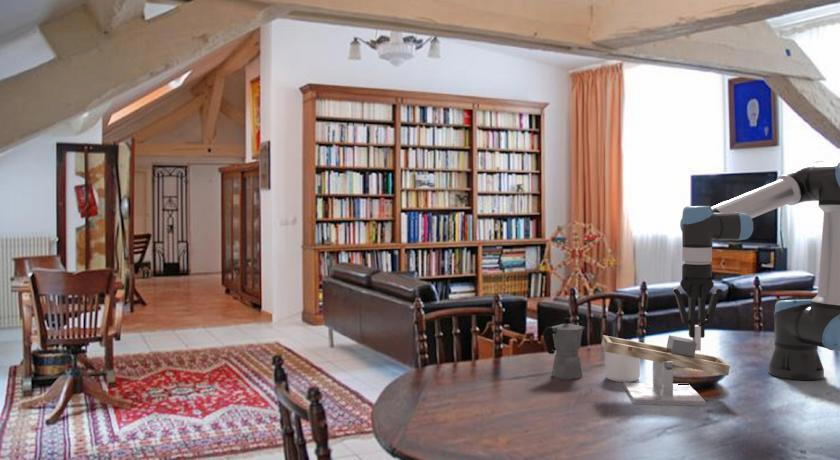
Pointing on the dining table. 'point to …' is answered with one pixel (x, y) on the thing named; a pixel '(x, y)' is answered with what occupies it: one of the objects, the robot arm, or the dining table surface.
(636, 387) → the stand
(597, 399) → the dining table surface
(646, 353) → the beam
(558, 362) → the coffeepot
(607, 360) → the cup
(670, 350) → the block
